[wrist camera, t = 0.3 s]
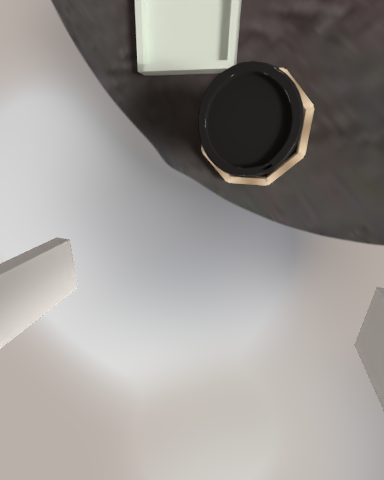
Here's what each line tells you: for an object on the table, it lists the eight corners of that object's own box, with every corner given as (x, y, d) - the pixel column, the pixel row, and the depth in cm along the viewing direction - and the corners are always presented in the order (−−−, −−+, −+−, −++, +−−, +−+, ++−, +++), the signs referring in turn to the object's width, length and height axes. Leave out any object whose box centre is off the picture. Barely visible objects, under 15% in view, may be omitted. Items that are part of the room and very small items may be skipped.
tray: (140, -61, 27) (131, -75, 26) (248, -80, 25) (247, -97, 23) (144, 75, 32) (137, 71, 30) (235, 72, 29) (233, 68, 28)
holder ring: (208, 75, 30) (204, 70, 28) (318, 72, 27) (322, 66, 25) (203, 178, 35) (200, 180, 33) (296, 185, 32) (298, 187, 30)
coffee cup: (238, 177, 34) (222, 199, 20) (210, 119, 32) (171, 101, 19) (300, 144, 30) (328, 144, 17) (271, 78, 29) (278, 20, 15)
